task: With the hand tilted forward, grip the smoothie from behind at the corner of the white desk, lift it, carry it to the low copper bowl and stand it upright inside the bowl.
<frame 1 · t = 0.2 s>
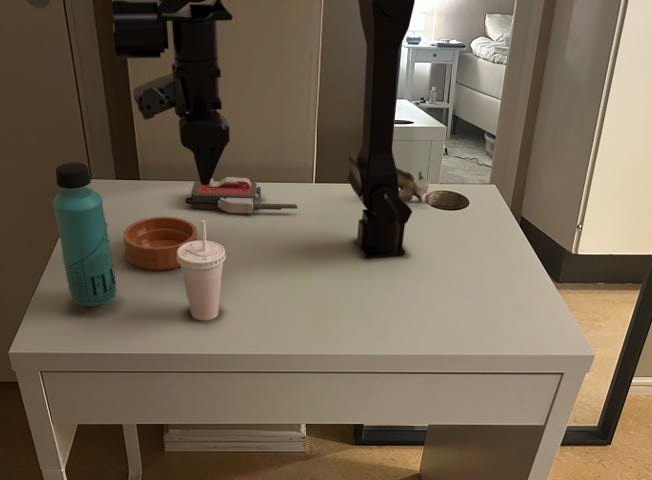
hand: (201, 171, 100), 15 cm above the table, tool pointing down, fingers open, 9 cm apart
smoothie: (204, 314, 97), on the table
beverage bottle: (95, 304, 99), on the table
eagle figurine: (399, 203, 128), on the table
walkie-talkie: (242, 206, 126), on the table
bowl: (162, 255, 110), on the table
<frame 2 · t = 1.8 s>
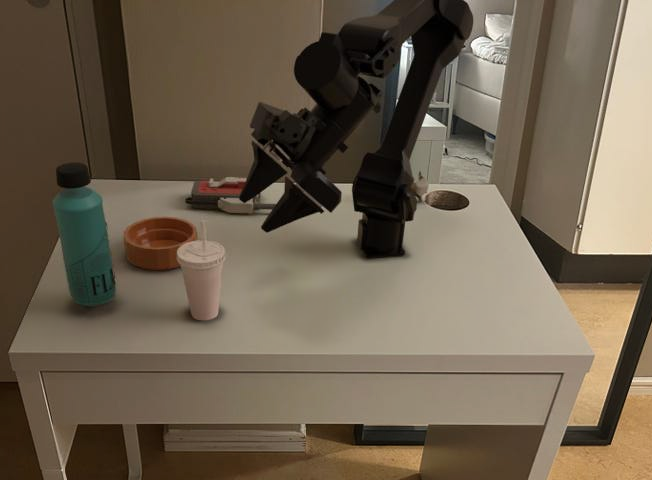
hand: (252, 215, 92), 13 cm above the table, tool tilted 45°, fingers open, 9 cm apart
nothing on the table moved.
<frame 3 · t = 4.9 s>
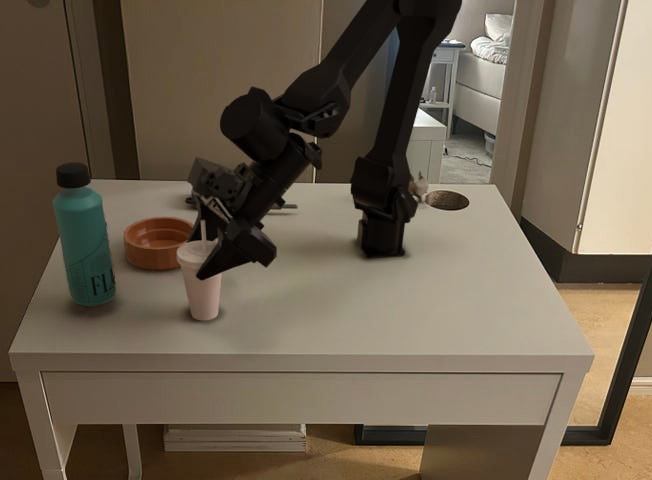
hand: (191, 266, 92), 8 cm above the table, tool tilted 45°, fingers closed on smoothie, 6 cm apart
smoothie: (204, 314, 97), on the table, touching gripper
everything else where it was.
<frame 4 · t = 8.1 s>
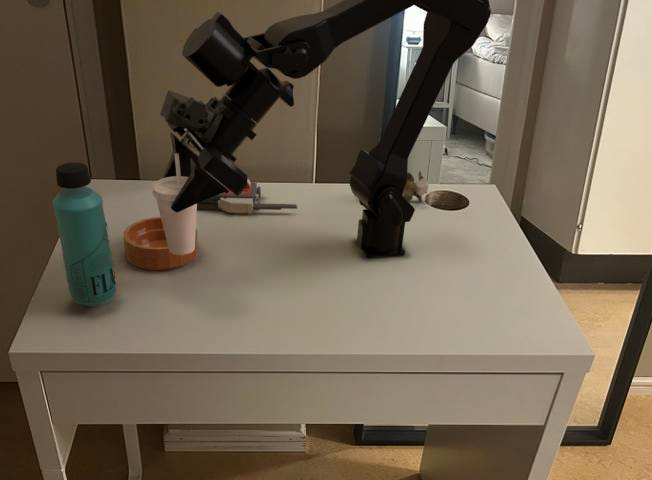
hand: (167, 200, 95), 13 cm above the table, tool tilted 45°, fingers closed on smoothie, 6 cm apart
smoothie: (181, 250, 100), point 5 cm above the table, touching gripper
everything else where it was.
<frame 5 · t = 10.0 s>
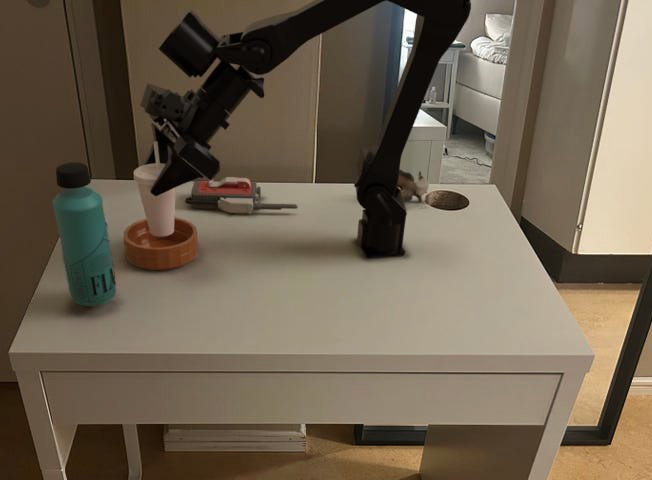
hand: (147, 185, 103), 12 cm above the table, tool tilted 45°, fingers closed on smoothie, 6 cm apart
smoothie: (162, 232, 108), point 4 cm above the table, touching gripper
everything else where it was.
when the fingers open (8 cm above the table, at t = 11.6 s): smoothie stays where it is, resting on bowl.
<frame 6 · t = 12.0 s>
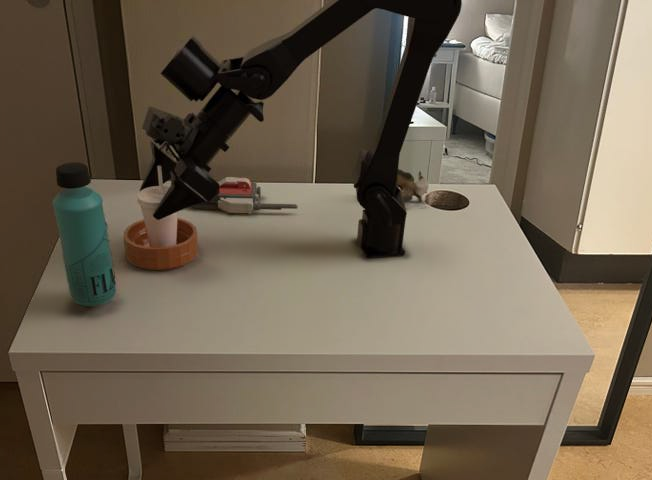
hand: (148, 205, 105), 9 cm above the table, tool tilted 45°, fingers open, 9 cm apart
smoothie: (164, 252, 110), resting on bowl
everything else where it was.
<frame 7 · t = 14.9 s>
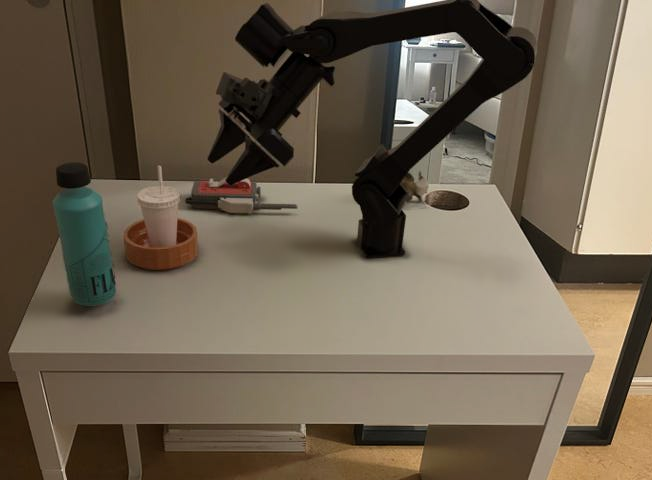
hand: (218, 171, 106), 12 cm above the table, tool tilted 45°, fingers open, 9 cm apart
nothing on the table moved.
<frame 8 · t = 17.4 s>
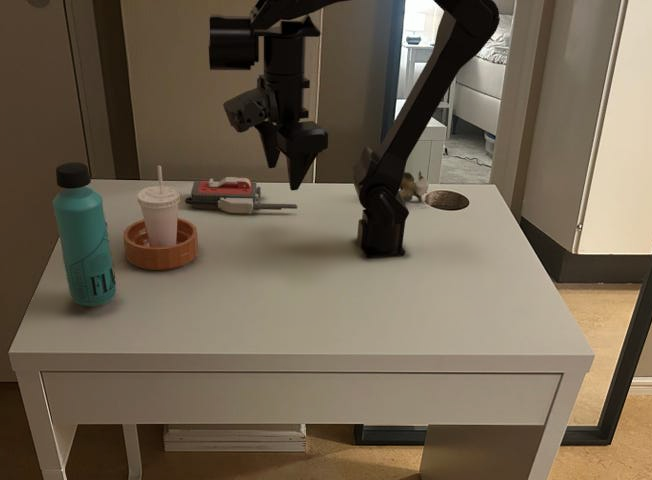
hand: (282, 178, 105), 12 cm above the table, tool pointing down, fingers open, 9 cm apart
nothing on the table moved.
at the end: smoothie 0.3 cm off-centre in the bowl, point 0.4 cm above the bowl's base; smoothie tilted 0°; the gripper is holding nothing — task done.
